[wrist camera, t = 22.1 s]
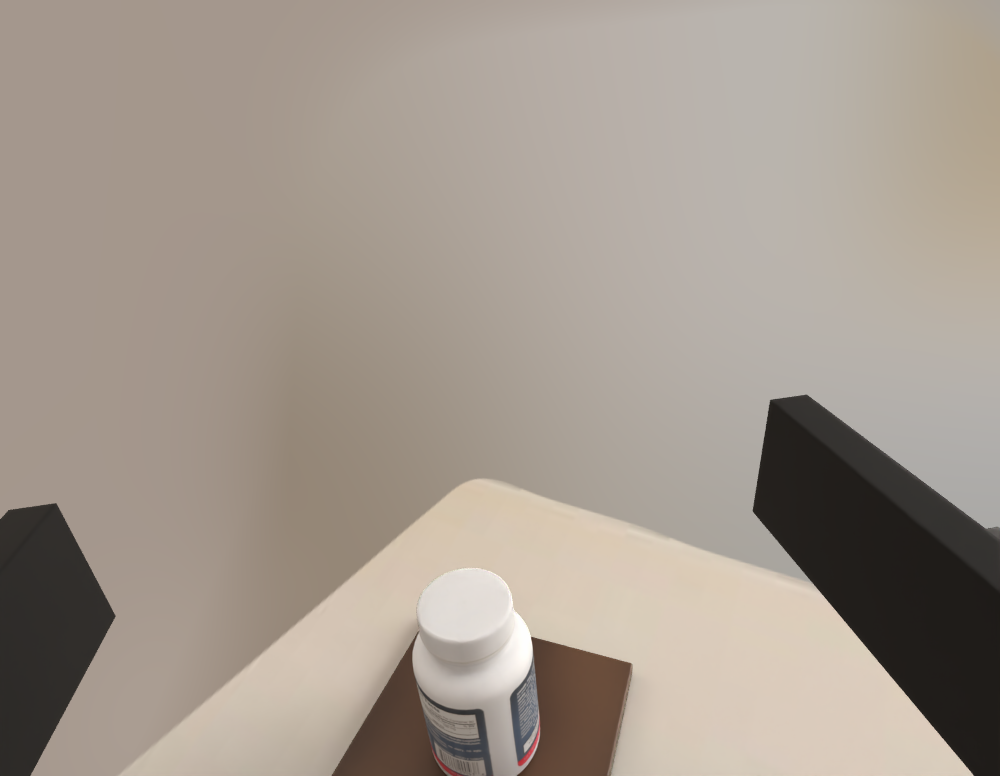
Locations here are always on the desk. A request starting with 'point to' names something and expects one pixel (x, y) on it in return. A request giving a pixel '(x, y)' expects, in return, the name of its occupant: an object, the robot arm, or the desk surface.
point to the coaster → (562, 709)
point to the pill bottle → (476, 675)
